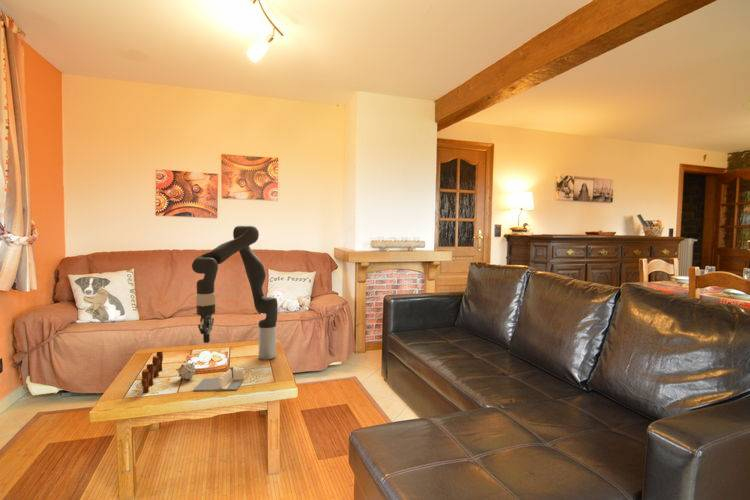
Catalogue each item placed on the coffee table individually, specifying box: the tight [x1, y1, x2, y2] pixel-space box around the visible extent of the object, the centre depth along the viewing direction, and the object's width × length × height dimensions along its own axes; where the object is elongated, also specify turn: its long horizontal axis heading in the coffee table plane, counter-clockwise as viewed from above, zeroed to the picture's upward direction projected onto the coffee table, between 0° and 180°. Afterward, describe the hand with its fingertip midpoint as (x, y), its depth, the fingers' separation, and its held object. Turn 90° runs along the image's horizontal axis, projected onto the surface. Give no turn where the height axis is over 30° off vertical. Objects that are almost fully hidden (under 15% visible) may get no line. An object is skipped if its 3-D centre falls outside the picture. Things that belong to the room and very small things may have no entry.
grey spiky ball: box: [175, 360, 199, 382], centre depth 182 cm, size 9×8×10 cm
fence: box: [140, 351, 164, 394], centre depth 181 cm, size 34×3×10 cm, turn 17°
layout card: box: [192, 377, 245, 392], centre depth 176 cm, size 13×18×1 cm
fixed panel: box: [233, 367, 245, 380], centre depth 182 cm, size 4×1×5 cm, turn 94°
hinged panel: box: [218, 366, 234, 388], centre depth 176 cm, size 13×1×5 cm, turn 177°
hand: (206, 342), depth 172 cm, fingers closed
